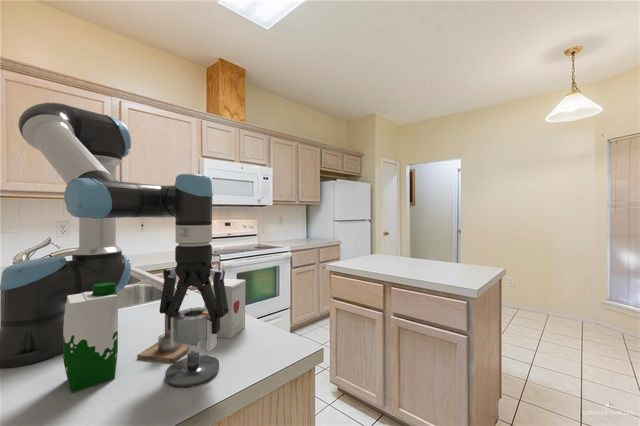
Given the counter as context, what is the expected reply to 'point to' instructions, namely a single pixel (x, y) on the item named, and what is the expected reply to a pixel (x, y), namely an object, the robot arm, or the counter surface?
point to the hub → (192, 369)
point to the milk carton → (91, 336)
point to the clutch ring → (190, 325)
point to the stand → (164, 348)
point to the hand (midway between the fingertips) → (193, 345)
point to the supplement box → (233, 308)
